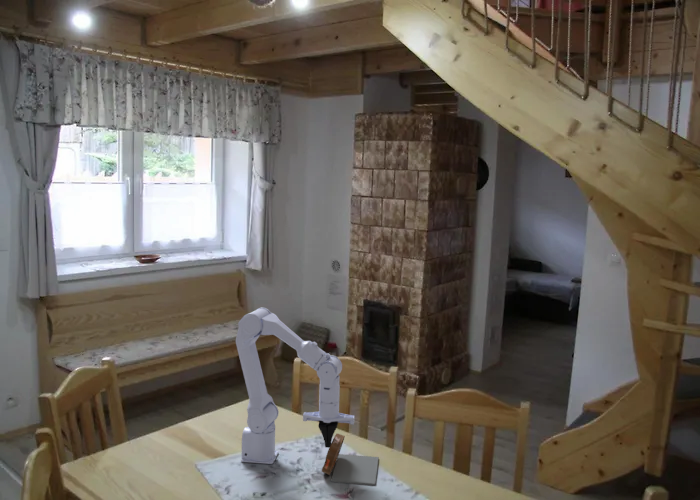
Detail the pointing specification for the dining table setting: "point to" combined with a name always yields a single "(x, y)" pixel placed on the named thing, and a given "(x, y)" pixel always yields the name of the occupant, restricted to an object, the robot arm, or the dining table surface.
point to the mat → (355, 469)
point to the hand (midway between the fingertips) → (328, 446)
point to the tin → (333, 454)
